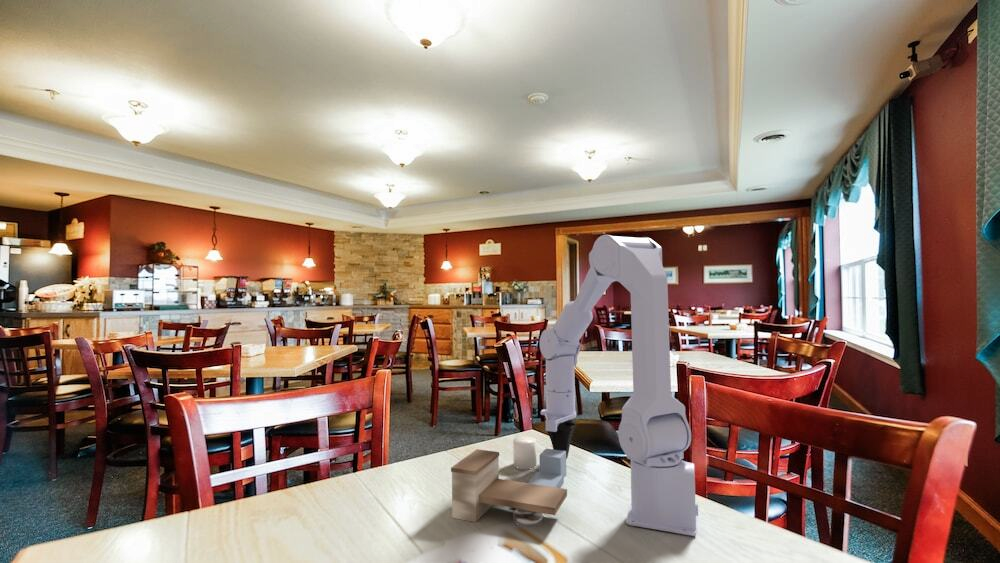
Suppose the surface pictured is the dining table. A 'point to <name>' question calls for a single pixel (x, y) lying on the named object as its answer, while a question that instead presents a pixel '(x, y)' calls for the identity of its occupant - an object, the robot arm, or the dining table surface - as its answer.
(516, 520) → the tape roll
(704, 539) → the dining table surface
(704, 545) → the dining table surface
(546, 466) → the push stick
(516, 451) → the white rounded cylinder
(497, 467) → the plinth shelf
